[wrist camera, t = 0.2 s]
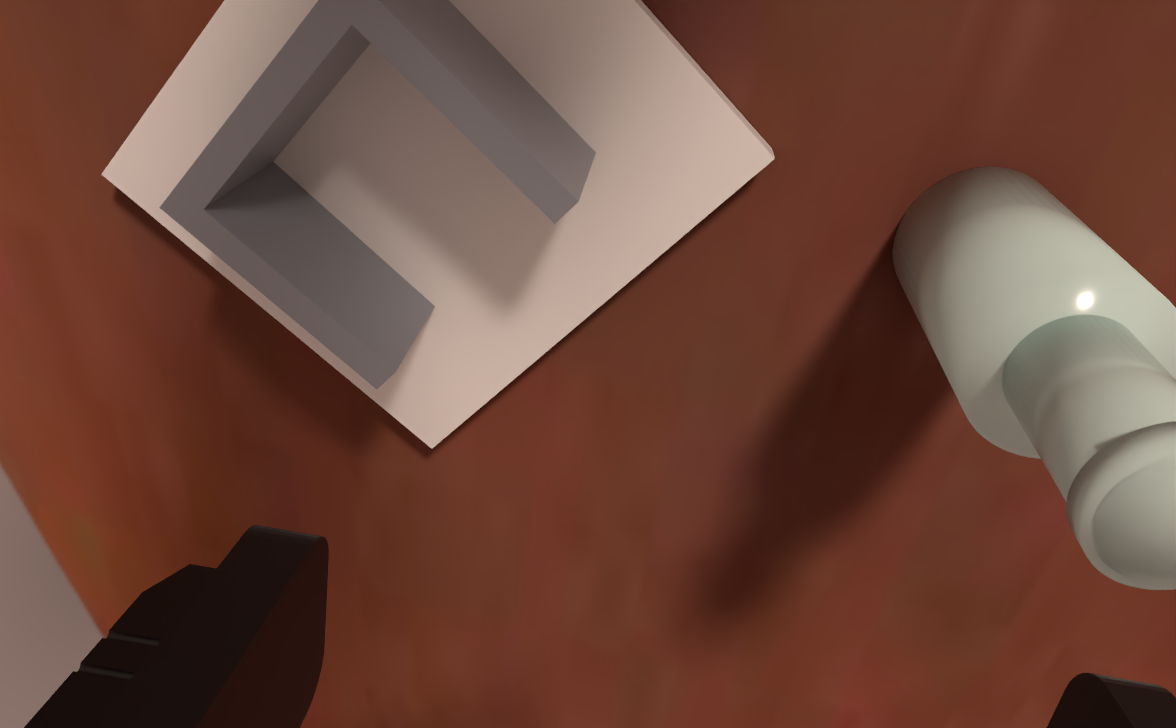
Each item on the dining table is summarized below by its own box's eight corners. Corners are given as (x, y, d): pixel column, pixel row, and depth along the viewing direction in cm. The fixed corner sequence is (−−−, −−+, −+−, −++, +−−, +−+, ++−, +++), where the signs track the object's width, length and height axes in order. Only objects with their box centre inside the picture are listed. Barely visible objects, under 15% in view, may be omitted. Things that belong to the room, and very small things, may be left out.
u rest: (418, -253, 25) (342, -285, 20) (771, 148, 30) (789, 209, 24) (120, 164, 32) (6, 222, 27) (439, 432, 37) (396, 527, 32)
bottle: (1002, 132, 29) (1257, 350, 16) (1092, 249, 30) (1392, 535, 17) (860, 239, 31) (979, 506, 18) (951, 343, 32) (1121, 656, 20)
